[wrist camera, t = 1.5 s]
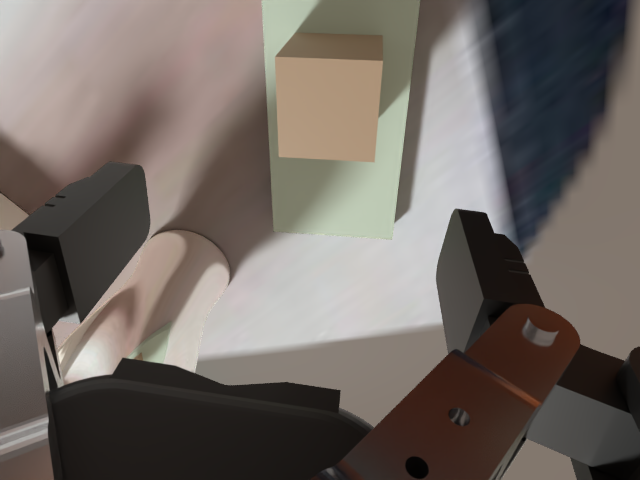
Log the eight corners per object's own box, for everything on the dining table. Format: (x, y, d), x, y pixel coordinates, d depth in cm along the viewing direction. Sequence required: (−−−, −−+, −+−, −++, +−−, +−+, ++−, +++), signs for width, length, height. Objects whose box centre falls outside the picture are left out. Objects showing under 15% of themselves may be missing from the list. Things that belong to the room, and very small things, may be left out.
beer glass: (118, 232, 31) (-57, 435, 18) (214, 214, 29) (93, 423, 17) (163, 310, 34) (42, 525, 22) (251, 298, 33) (173, 521, 20)
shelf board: (263, -160, 19) (214, -198, 14) (434, -159, 19) (458, -200, 13) (279, 214, 29) (254, 284, 24) (391, 222, 29) (394, 295, 23)
